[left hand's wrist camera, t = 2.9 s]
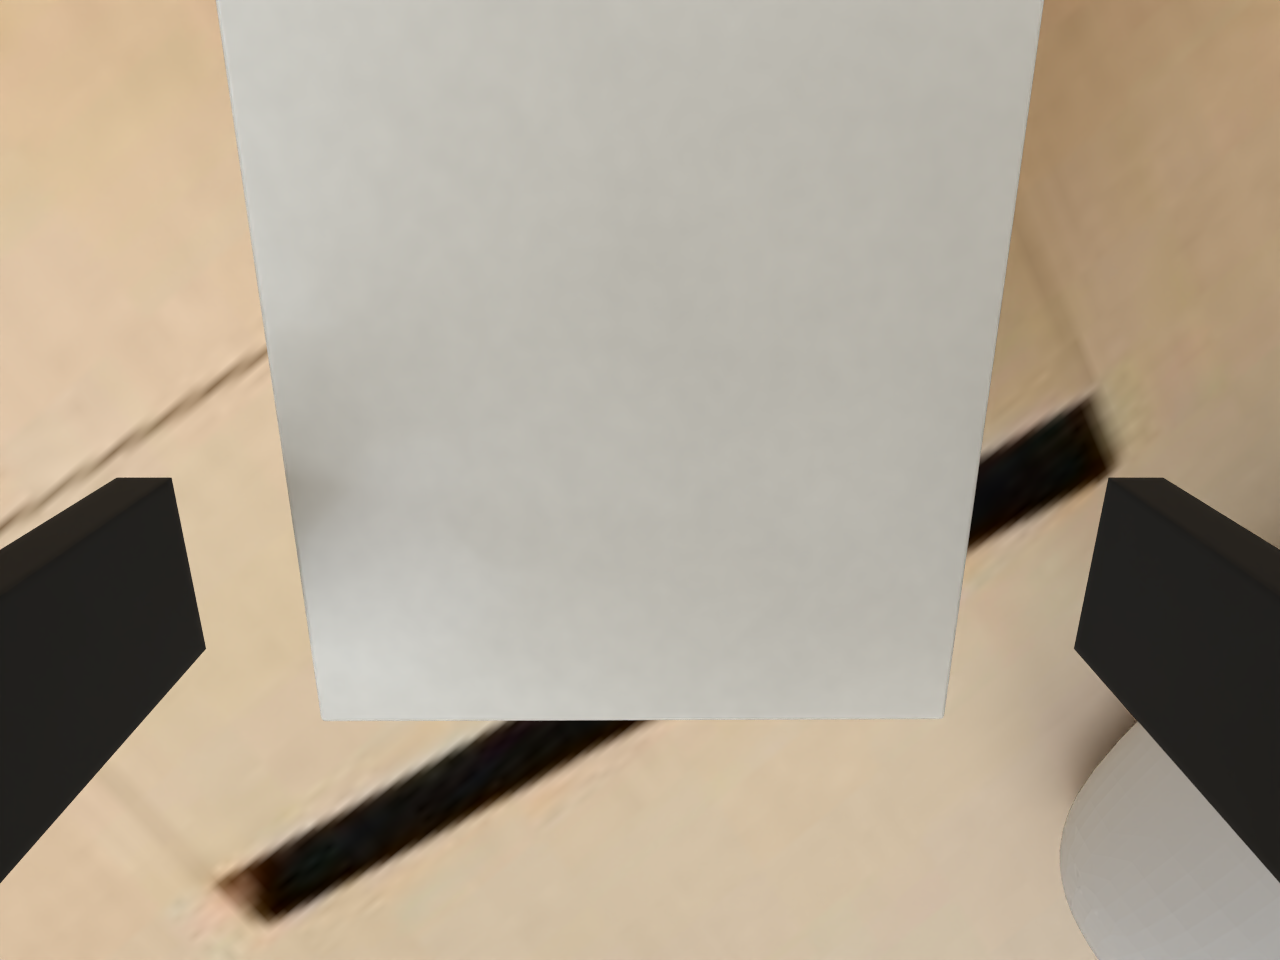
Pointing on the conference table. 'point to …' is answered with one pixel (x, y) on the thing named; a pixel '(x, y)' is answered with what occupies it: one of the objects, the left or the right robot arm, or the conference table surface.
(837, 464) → the cabinet
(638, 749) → the conference table surface
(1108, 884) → the projector
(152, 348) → the conference table surface
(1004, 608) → the conference table surface
